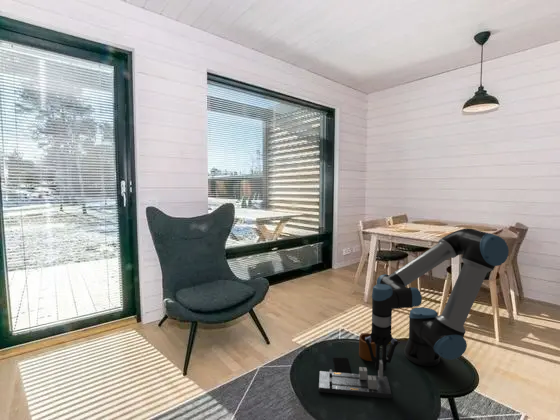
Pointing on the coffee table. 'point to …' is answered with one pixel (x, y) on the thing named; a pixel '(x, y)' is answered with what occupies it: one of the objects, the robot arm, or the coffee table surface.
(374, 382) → the block
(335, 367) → the smartphone
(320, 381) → the console
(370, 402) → the coffee table surface
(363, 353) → the mug
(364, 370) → the fader
